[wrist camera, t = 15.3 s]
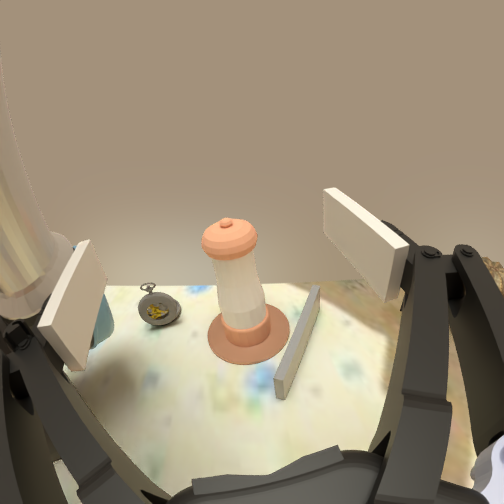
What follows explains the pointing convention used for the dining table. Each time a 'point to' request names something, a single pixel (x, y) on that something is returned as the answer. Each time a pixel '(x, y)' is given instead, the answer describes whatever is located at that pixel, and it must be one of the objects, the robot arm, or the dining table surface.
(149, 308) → the pocket watch
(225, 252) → the pepper shaker
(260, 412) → the dining table surface
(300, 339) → the low wall
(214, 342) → the coaster
